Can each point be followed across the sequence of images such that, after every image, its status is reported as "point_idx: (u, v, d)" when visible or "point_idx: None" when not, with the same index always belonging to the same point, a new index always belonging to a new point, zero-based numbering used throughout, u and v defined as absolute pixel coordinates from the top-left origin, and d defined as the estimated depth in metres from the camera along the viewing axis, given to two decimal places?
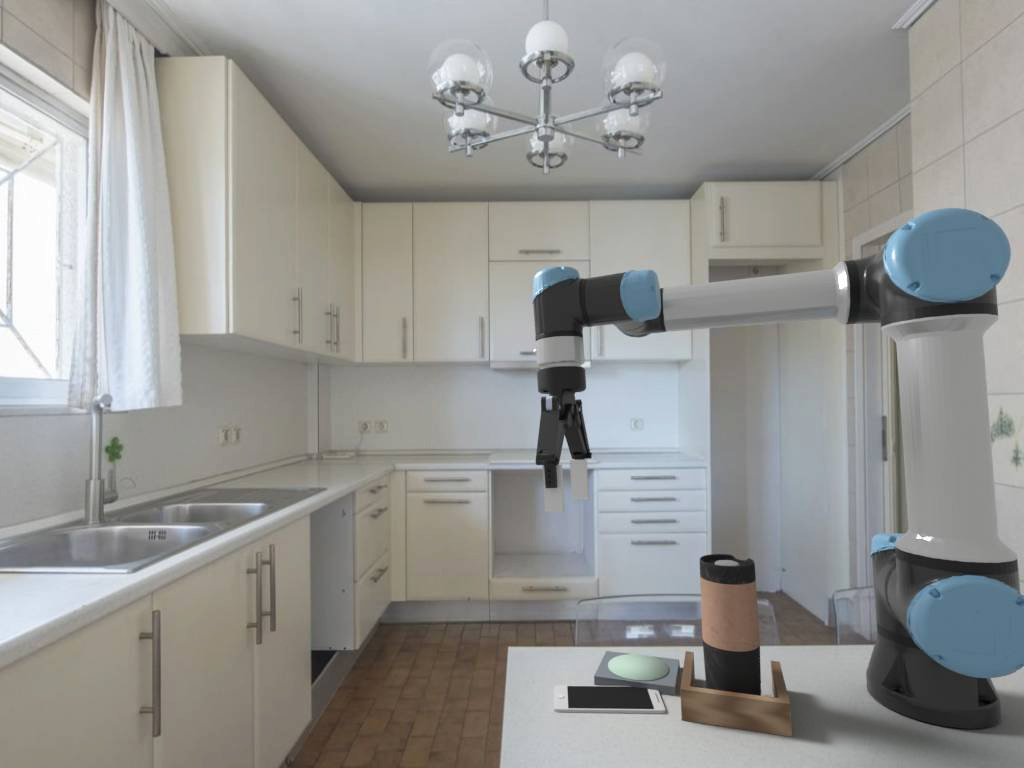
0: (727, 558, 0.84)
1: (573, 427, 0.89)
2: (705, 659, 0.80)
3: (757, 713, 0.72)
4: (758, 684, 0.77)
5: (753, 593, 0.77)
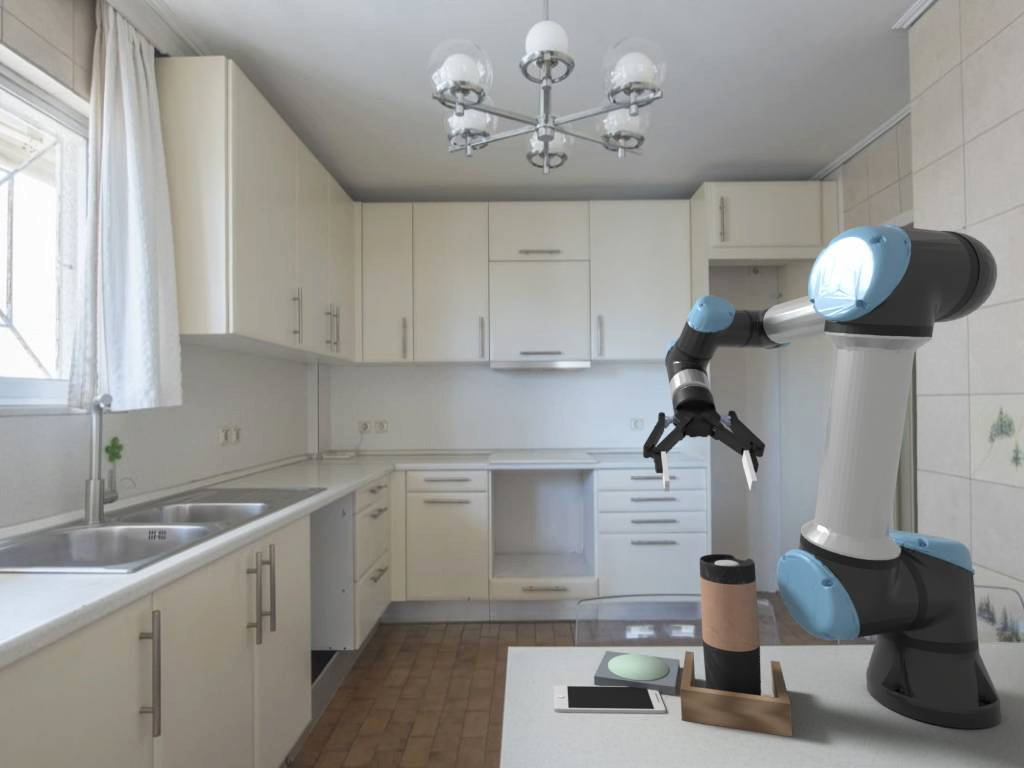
0: (727, 558, 0.84)
1: (717, 431, 1.00)
2: (705, 659, 0.80)
3: (757, 713, 0.72)
4: (758, 684, 0.77)
5: (753, 593, 0.77)
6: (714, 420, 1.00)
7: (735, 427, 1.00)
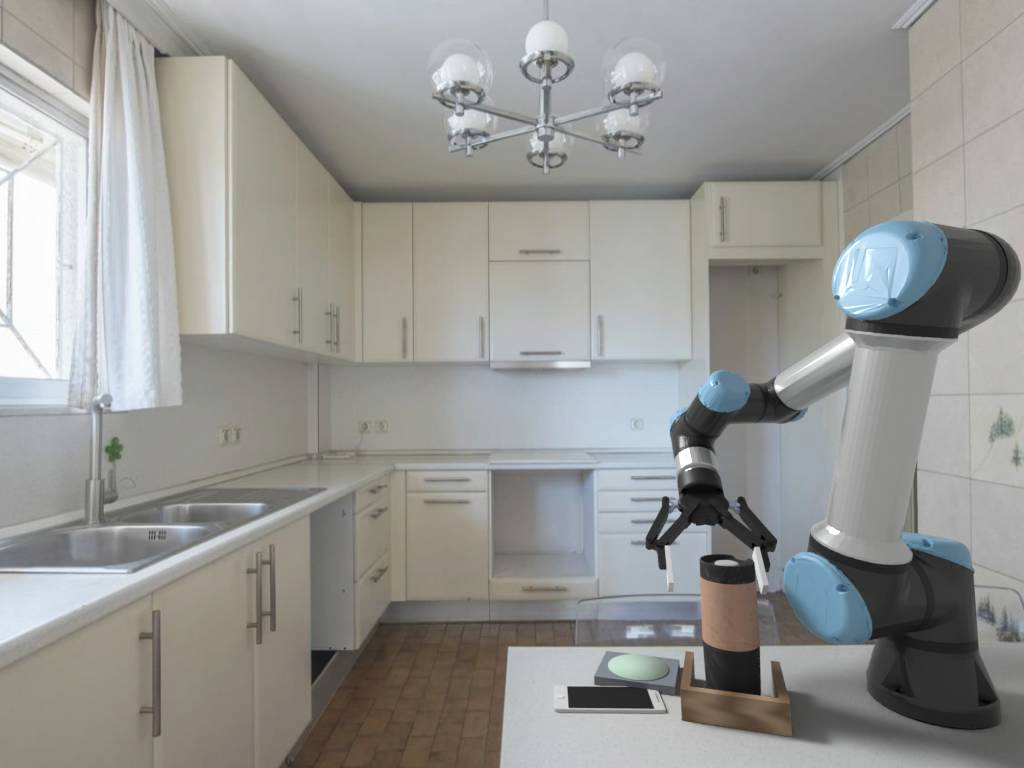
0: (727, 558, 0.84)
1: (725, 520, 0.93)
2: (705, 659, 0.80)
3: (757, 713, 0.72)
4: (758, 684, 0.77)
5: (753, 593, 0.77)
6: (722, 508, 0.93)
7: (745, 516, 0.93)
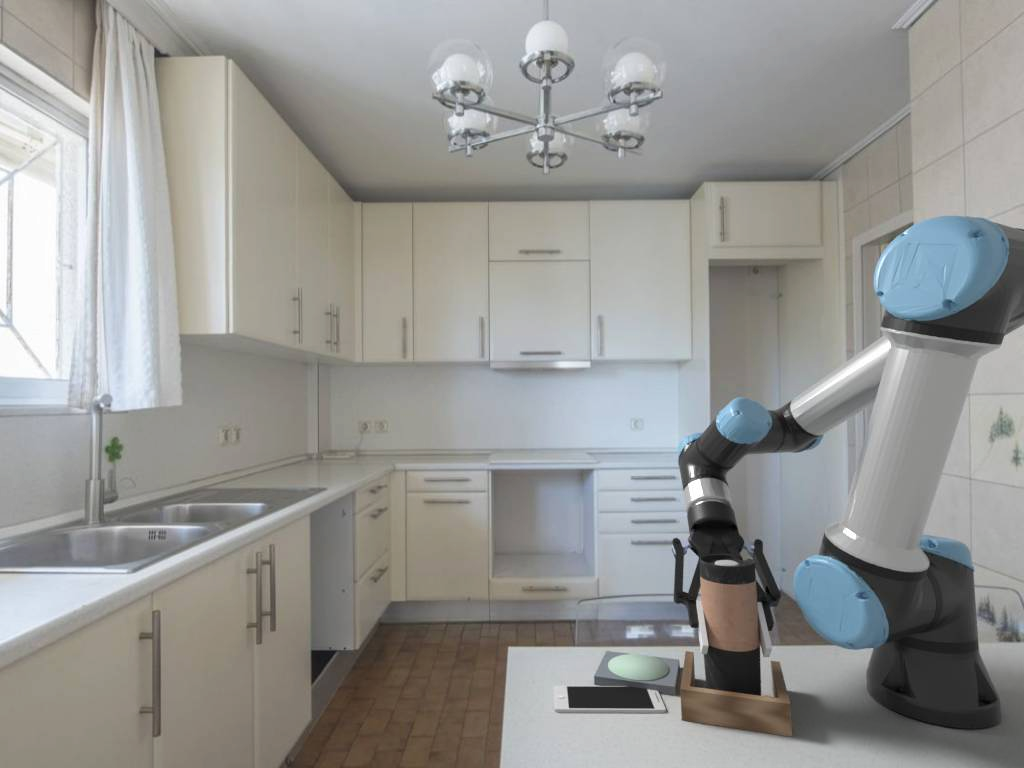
0: (727, 558, 0.84)
1: None
2: (705, 659, 0.80)
3: (757, 713, 0.72)
4: (758, 684, 0.77)
5: (753, 593, 0.77)
6: (734, 550, 0.86)
7: (756, 561, 0.85)
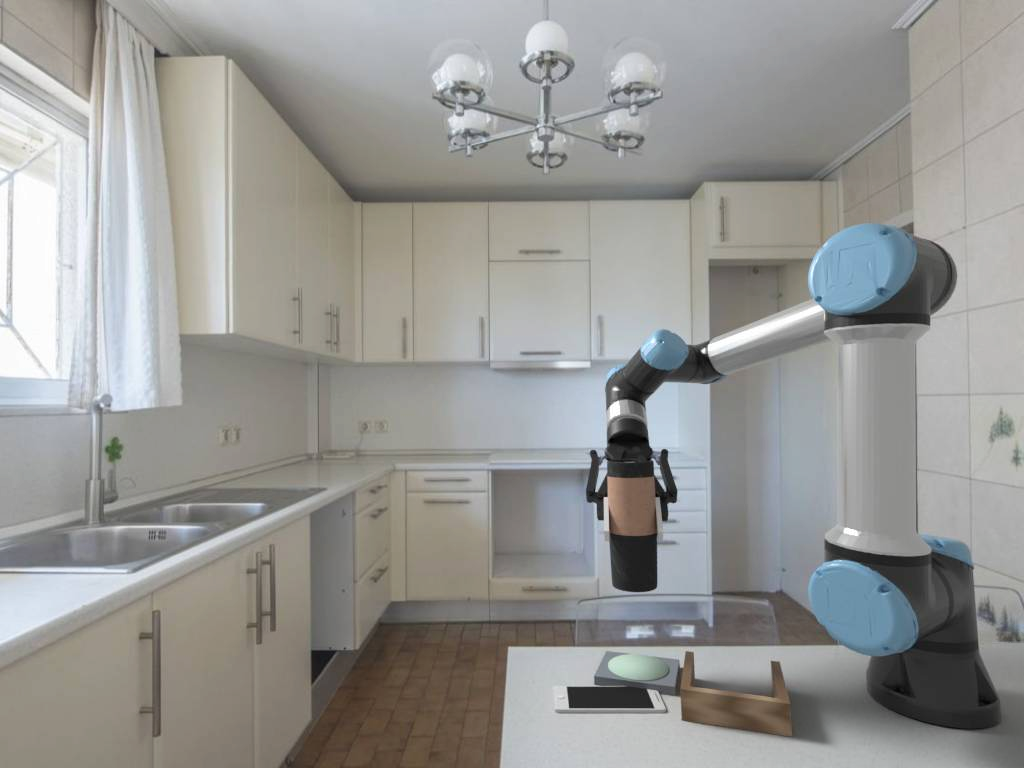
0: None
1: None
2: (610, 547, 0.90)
3: (757, 713, 0.72)
4: (653, 565, 0.87)
5: (650, 487, 0.88)
6: (642, 457, 0.96)
7: (661, 467, 0.96)
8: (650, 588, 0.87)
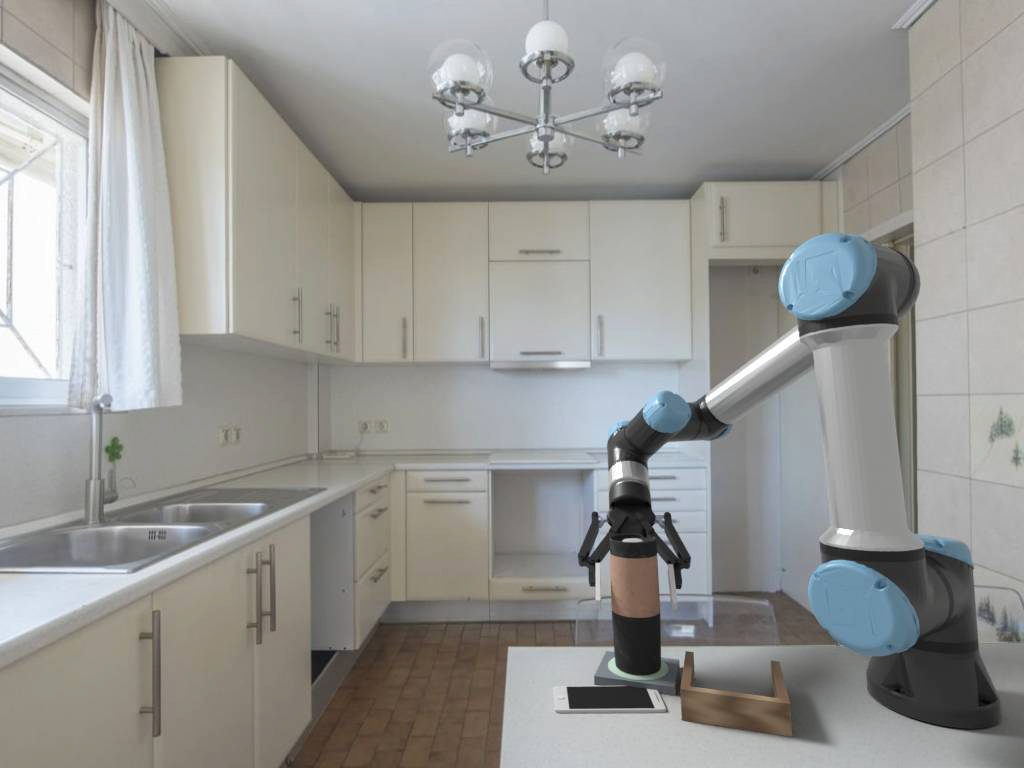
0: (636, 537, 0.94)
1: (647, 535, 0.95)
2: (613, 626, 0.89)
3: (757, 713, 0.72)
4: (657, 647, 0.86)
5: (653, 567, 0.87)
6: (646, 523, 0.96)
7: (667, 531, 0.95)
8: (654, 670, 0.86)
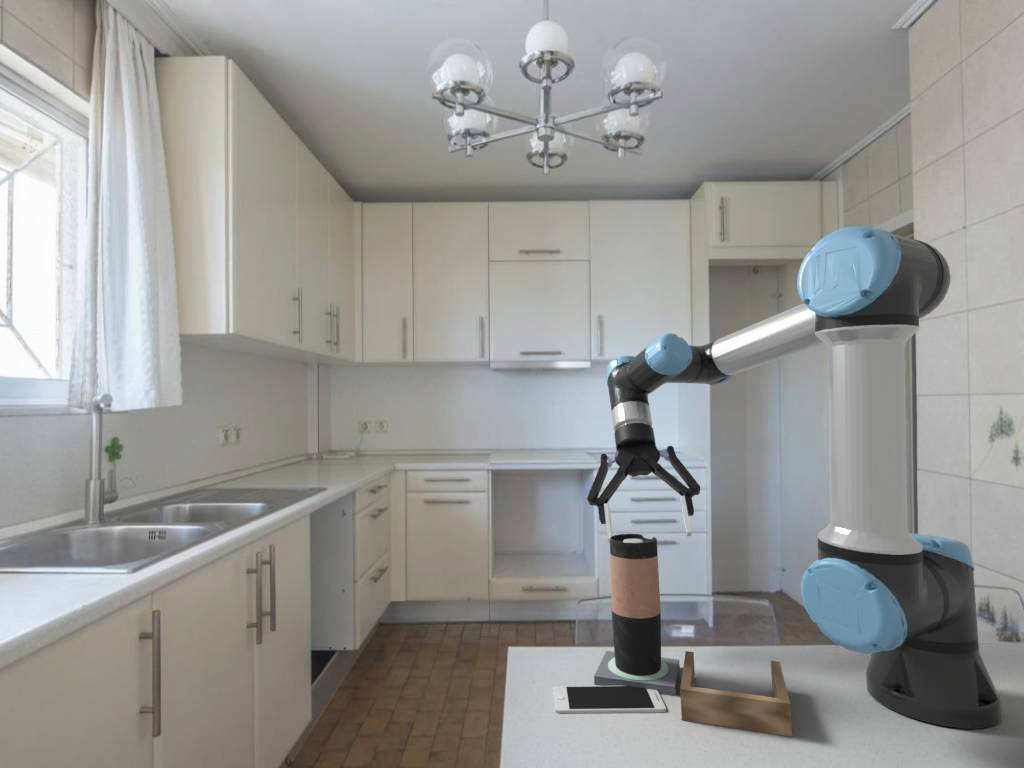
0: (637, 537, 0.93)
1: (656, 471, 1.04)
2: (613, 626, 0.89)
3: (757, 713, 0.72)
4: (657, 647, 0.86)
5: (653, 567, 0.87)
6: (653, 461, 1.04)
7: (673, 464, 1.04)
8: (654, 671, 0.86)
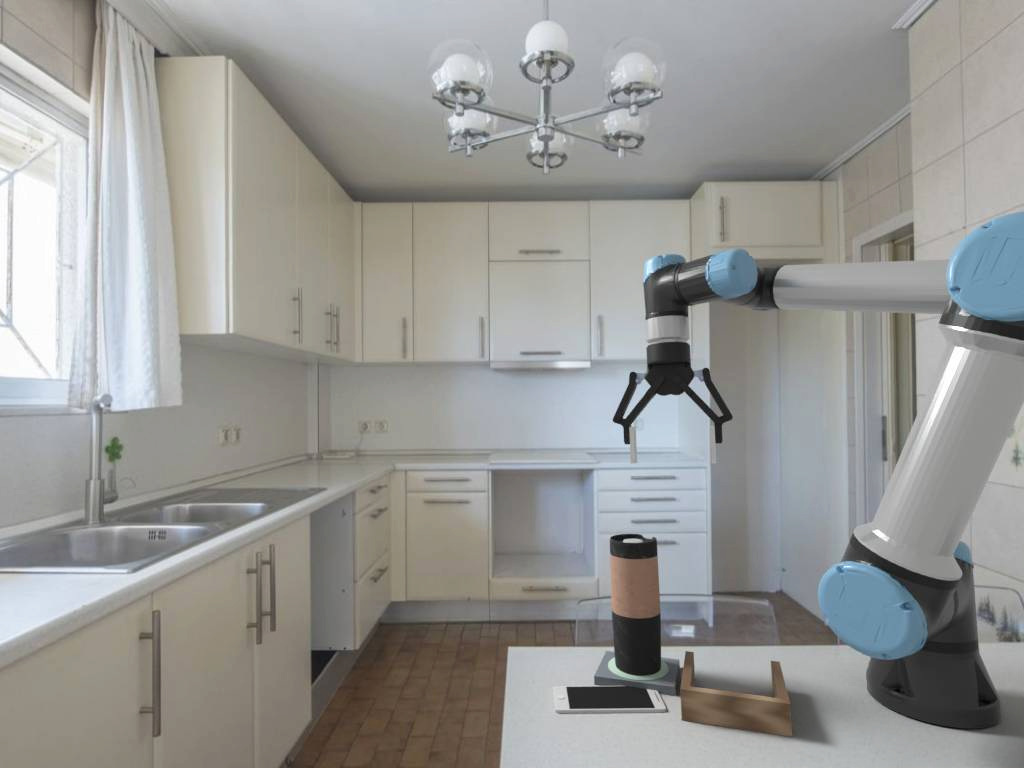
0: (636, 537, 0.93)
1: None
2: (613, 626, 0.89)
3: (757, 713, 0.72)
4: (657, 647, 0.86)
5: (653, 567, 0.87)
6: (685, 385, 0.97)
7: None
8: (654, 671, 0.86)
